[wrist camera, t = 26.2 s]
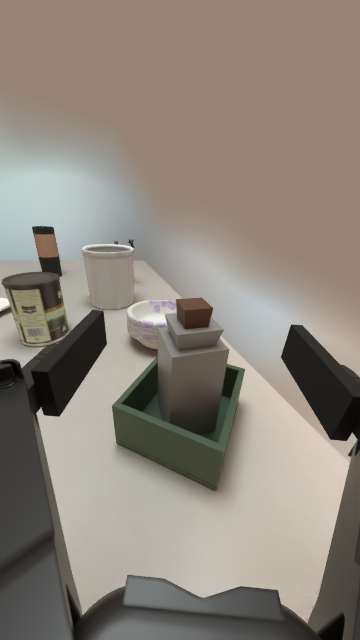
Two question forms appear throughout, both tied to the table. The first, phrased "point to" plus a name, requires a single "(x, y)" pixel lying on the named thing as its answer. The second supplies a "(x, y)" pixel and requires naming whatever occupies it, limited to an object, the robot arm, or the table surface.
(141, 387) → the tote
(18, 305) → the coffee can
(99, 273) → the utensil holder
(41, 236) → the travel mug
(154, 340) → the paper bowls
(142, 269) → the table surface
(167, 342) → the perfume bottle
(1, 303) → the plate
